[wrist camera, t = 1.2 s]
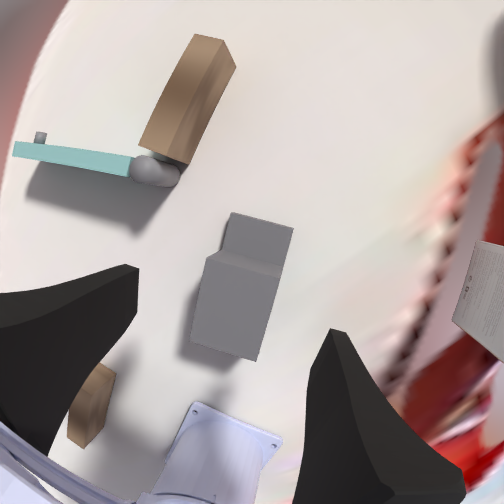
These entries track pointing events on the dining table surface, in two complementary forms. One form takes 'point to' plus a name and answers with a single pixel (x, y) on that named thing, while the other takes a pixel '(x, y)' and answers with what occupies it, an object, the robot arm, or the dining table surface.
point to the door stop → (240, 287)
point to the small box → (484, 298)
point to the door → (101, 162)
